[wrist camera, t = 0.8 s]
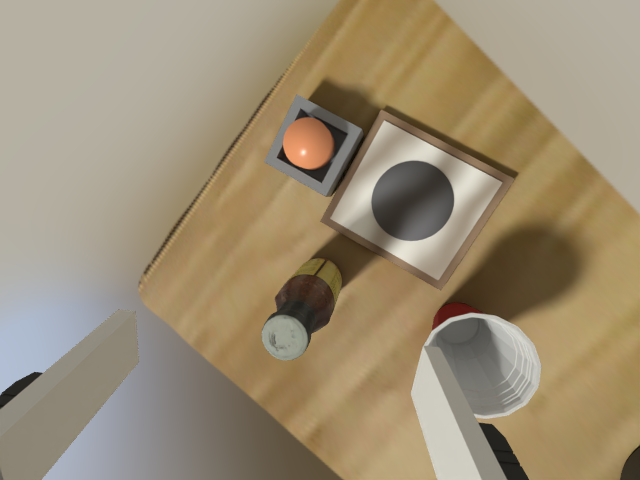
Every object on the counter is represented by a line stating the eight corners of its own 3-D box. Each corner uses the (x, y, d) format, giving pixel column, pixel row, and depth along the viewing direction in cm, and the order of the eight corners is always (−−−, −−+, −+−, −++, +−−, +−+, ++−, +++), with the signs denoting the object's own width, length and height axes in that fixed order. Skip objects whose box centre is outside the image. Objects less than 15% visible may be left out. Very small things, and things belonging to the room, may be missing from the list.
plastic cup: (424, 272, 44) (439, 301, 32) (510, 295, 42) (558, 334, 30) (402, 347, 46) (408, 399, 34) (483, 372, 44) (519, 436, 32)
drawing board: (511, 179, 40) (515, 178, 39) (439, 288, 43) (441, 291, 42) (381, 111, 42) (381, 108, 41) (321, 220, 45) (319, 221, 44)
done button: (343, 136, 40) (339, 131, 37) (321, 178, 42) (316, 176, 38) (304, 115, 41) (296, 108, 38) (283, 156, 42) (275, 153, 39)
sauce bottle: (294, 288, 47) (231, 352, 28) (309, 249, 46) (254, 287, 27) (336, 307, 47) (301, 385, 27) (352, 267, 45) (328, 320, 26)
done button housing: (364, 134, 43) (361, 128, 39) (330, 196, 45) (325, 196, 41) (304, 103, 44) (296, 94, 40) (274, 164, 46) (264, 161, 42)
